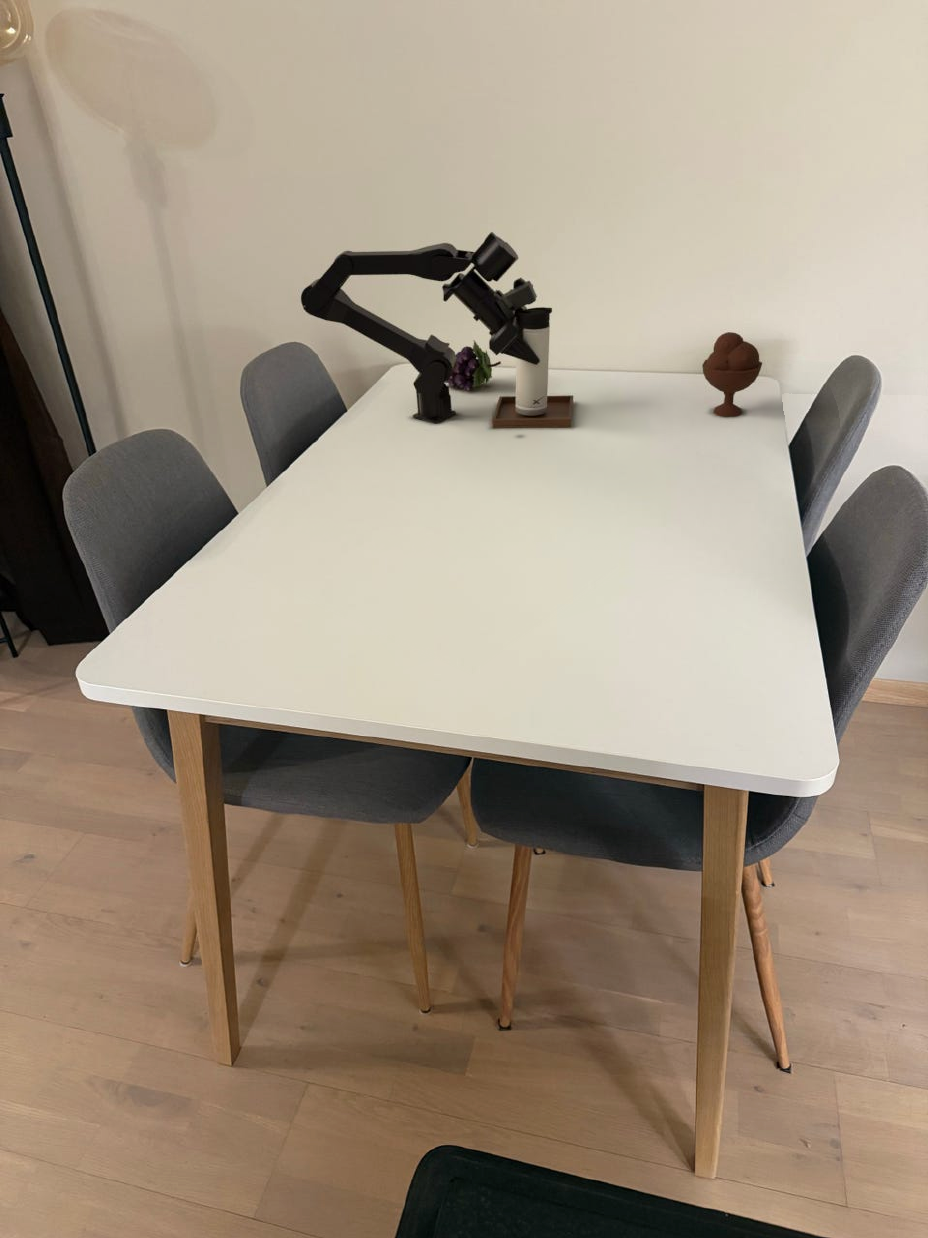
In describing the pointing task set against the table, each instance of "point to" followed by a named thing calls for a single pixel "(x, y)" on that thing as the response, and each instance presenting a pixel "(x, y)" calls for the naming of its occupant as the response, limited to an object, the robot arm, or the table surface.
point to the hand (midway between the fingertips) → (539, 357)
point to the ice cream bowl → (731, 370)
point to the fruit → (471, 368)
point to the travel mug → (530, 375)
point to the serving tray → (552, 418)
